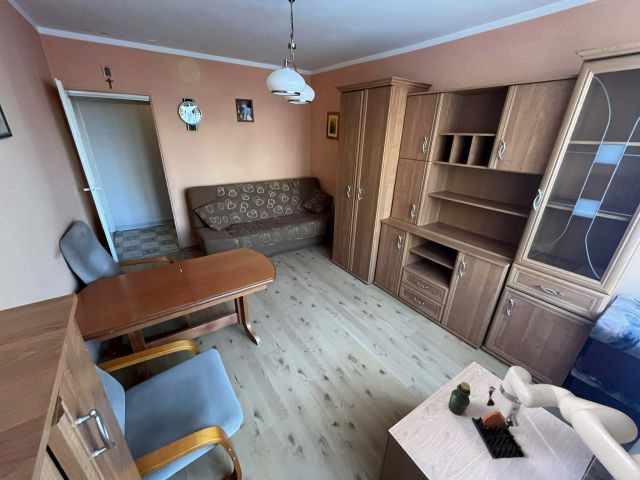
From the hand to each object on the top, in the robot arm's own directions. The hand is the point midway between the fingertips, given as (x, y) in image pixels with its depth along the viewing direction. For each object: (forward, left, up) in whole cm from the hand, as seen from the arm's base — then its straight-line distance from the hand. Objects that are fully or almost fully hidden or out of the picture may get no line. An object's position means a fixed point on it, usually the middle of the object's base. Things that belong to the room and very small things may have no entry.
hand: (496, 416), depth 118 cm
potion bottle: (+9, +12, -10) cm, 18 cm away
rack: (-4, 0, -10) cm, 10 cm away
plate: (0, 0, -9) cm, 9 cm away
